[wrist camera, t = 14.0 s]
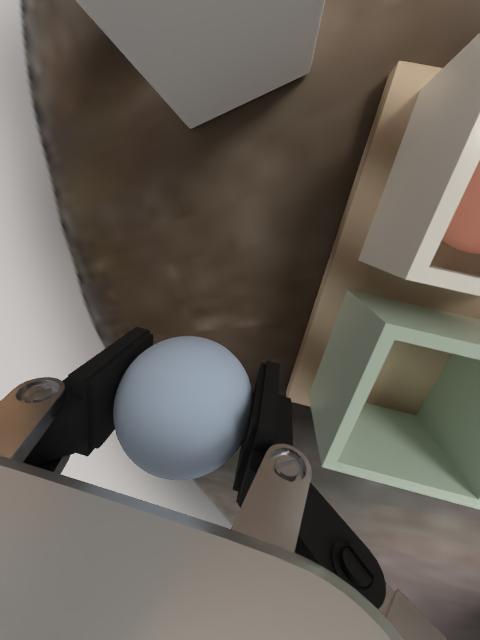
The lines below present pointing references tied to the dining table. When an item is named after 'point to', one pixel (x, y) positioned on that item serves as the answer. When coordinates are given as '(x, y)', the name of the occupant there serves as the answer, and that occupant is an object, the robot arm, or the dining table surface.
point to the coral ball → (466, 219)
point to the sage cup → (394, 426)
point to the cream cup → (430, 177)
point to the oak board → (348, 273)
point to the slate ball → (183, 408)
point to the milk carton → (212, 47)
